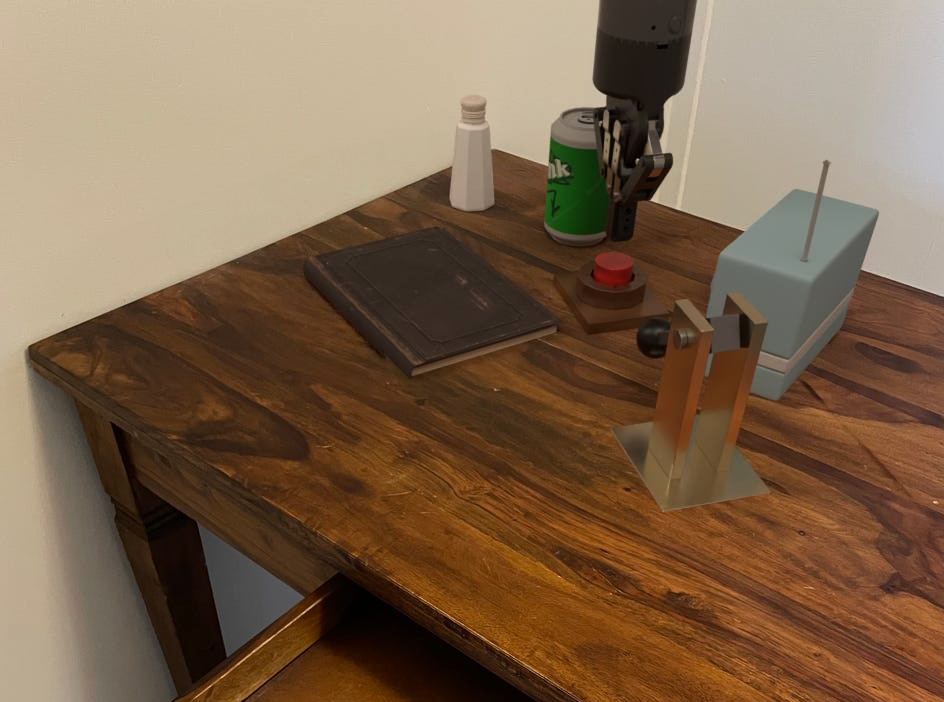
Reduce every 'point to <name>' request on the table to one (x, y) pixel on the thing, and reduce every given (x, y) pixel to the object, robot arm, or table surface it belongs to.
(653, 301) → the brown button base
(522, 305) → the hardcover book
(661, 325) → the switch lever
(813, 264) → the radio
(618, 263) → the stop button
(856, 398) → the table surface
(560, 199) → the soda can
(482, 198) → the pepper shaker
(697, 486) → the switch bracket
